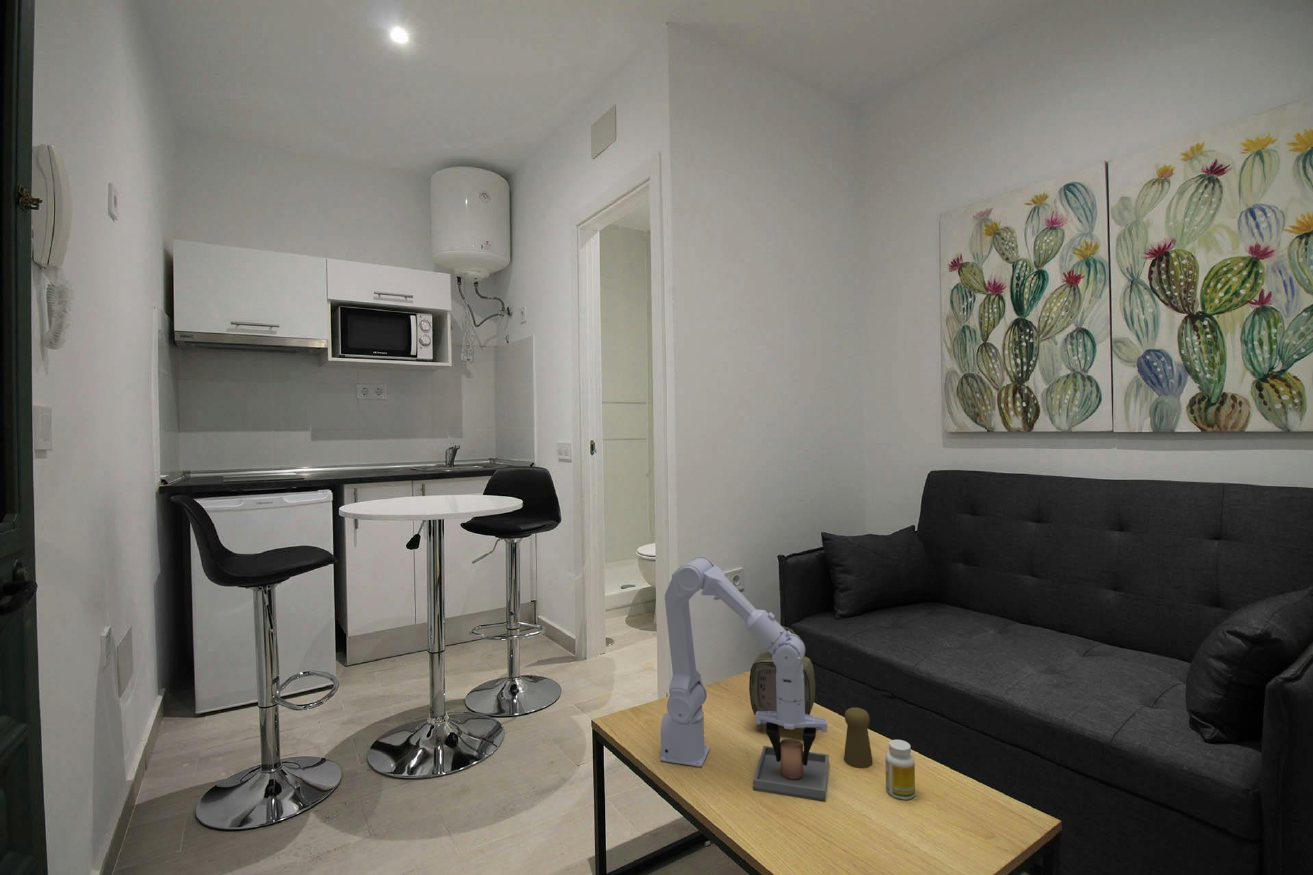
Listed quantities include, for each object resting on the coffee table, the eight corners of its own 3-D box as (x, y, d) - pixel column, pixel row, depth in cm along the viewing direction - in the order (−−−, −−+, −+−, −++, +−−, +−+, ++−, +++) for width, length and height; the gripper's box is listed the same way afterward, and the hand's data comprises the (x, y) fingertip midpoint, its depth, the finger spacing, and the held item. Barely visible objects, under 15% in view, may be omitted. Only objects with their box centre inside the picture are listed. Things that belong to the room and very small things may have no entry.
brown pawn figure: (874, 769, 129) (873, 717, 129) (845, 766, 130) (843, 715, 130) (870, 754, 135) (869, 704, 135) (842, 752, 136) (841, 703, 136)
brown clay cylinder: (779, 776, 126) (778, 747, 126) (782, 764, 130) (782, 736, 130) (802, 780, 124) (801, 751, 124) (804, 768, 128) (804, 740, 128)
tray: (753, 789, 123) (753, 779, 123) (763, 754, 136) (763, 745, 136) (825, 801, 118) (825, 791, 118) (828, 763, 132) (828, 754, 131)
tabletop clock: (750, 732, 146) (747, 628, 146) (758, 716, 154) (756, 617, 154) (811, 743, 140) (809, 634, 140) (817, 725, 149) (814, 623, 149)
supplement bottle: (880, 789, 122) (879, 741, 122) (899, 781, 124) (898, 734, 124) (901, 803, 117) (900, 753, 117) (921, 795, 119) (920, 746, 119)
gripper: (752, 700, 125) (754, 765, 126) (825, 708, 121) (827, 776, 121) (757, 686, 132) (759, 748, 132) (827, 693, 128) (828, 758, 128)
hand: (792, 760), depth 127 cm, fingers open, 5 cm apart
